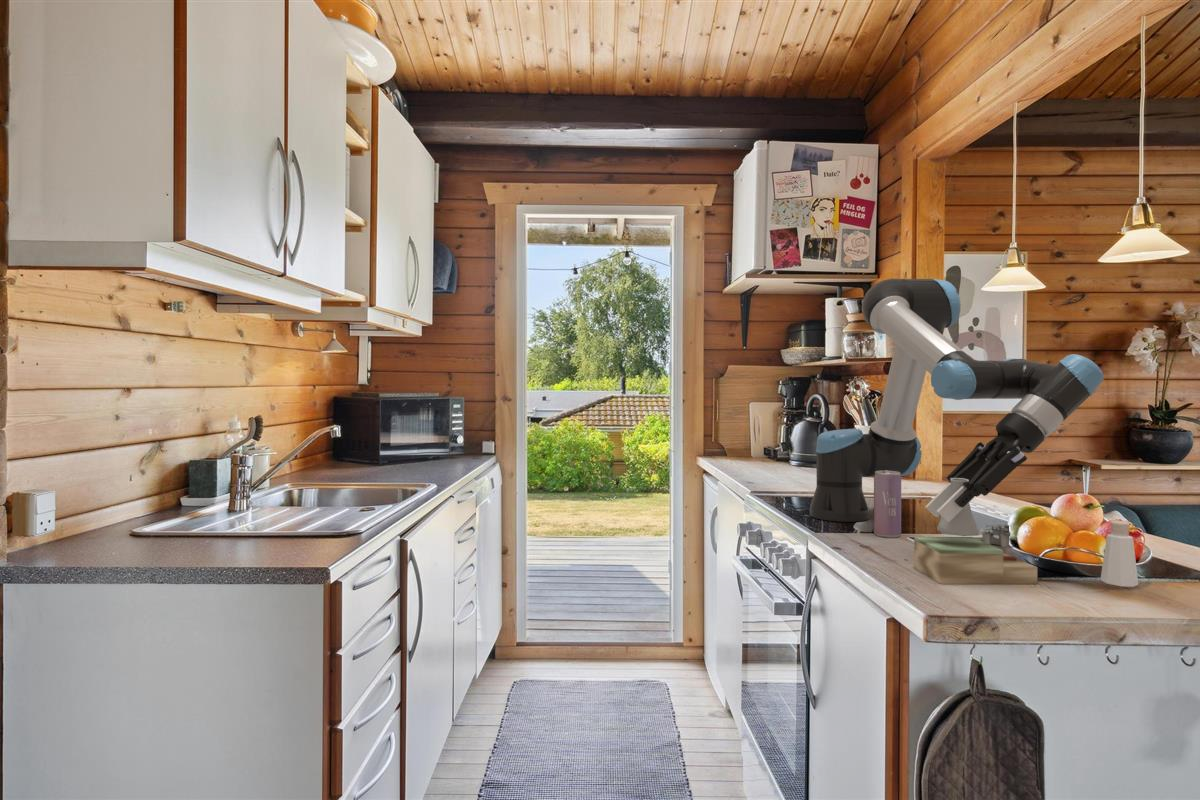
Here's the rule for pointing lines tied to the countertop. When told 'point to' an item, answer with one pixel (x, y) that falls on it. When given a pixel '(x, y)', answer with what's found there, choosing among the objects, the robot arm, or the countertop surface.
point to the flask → (959, 516)
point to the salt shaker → (1119, 557)
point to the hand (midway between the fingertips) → (936, 514)
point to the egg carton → (996, 534)
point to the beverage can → (887, 504)
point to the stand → (969, 562)
